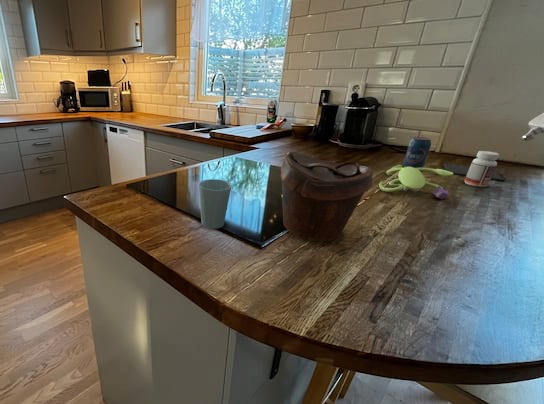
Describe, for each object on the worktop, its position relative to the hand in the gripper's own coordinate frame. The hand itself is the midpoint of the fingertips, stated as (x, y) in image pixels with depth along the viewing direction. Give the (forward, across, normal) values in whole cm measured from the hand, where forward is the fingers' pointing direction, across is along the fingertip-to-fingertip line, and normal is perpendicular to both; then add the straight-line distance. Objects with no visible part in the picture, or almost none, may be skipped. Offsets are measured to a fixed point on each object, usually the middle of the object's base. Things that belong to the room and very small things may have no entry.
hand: (536, 142), depth 95 cm
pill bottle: (+19, 0, -3) cm, 19 cm away
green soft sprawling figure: (+35, -8, +13) cm, 38 cm away
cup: (+80, -53, +56) cm, 111 cm away
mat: (+14, +16, -8) cm, 23 cm away
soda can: (+28, +18, +5) cm, 33 cm away
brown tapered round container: (+62, -50, +40) cm, 89 cm away
